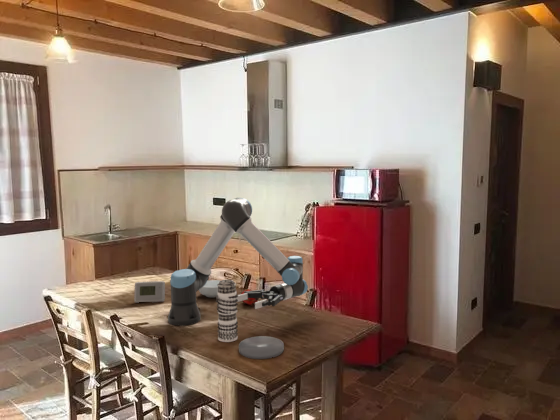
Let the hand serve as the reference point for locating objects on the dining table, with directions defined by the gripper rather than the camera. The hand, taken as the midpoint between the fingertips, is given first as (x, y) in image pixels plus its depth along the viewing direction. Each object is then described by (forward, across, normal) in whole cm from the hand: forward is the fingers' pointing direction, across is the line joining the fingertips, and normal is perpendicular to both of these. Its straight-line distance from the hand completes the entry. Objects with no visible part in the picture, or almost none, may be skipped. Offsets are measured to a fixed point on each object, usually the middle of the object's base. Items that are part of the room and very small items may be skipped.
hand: (245, 302), depth 200 cm
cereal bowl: (-22, +57, -14) cm, 63 cm away
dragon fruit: (-27, +30, -14) cm, 43 cm away
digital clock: (+8, +72, -14) cm, 74 cm away
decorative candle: (+10, 0, -14) cm, 17 cm away
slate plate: (+7, -19, -14) cm, 24 cm away
